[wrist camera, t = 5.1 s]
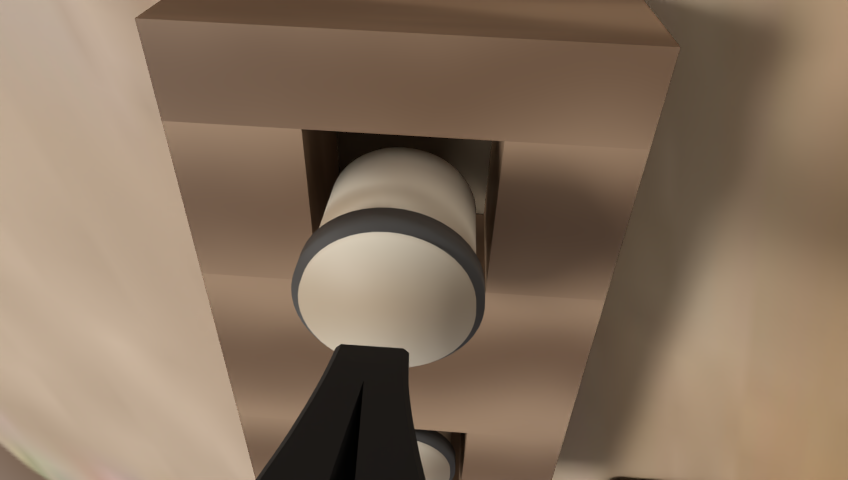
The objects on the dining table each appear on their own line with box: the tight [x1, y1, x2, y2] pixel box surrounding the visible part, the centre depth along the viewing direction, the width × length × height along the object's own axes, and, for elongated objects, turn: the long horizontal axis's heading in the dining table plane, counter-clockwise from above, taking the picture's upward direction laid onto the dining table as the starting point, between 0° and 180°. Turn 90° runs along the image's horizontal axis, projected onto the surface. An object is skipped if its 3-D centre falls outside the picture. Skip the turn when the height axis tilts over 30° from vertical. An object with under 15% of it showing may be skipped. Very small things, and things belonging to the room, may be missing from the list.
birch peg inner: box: [415, 429, 456, 480], centre depth 25 cm, size 4×4×4 cm
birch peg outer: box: [291, 147, 485, 367], centre depth 15 cm, size 4×4×4 cm
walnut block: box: [135, 0, 681, 480], centre depth 21 cm, size 22×12×4 cm, turn 178°
